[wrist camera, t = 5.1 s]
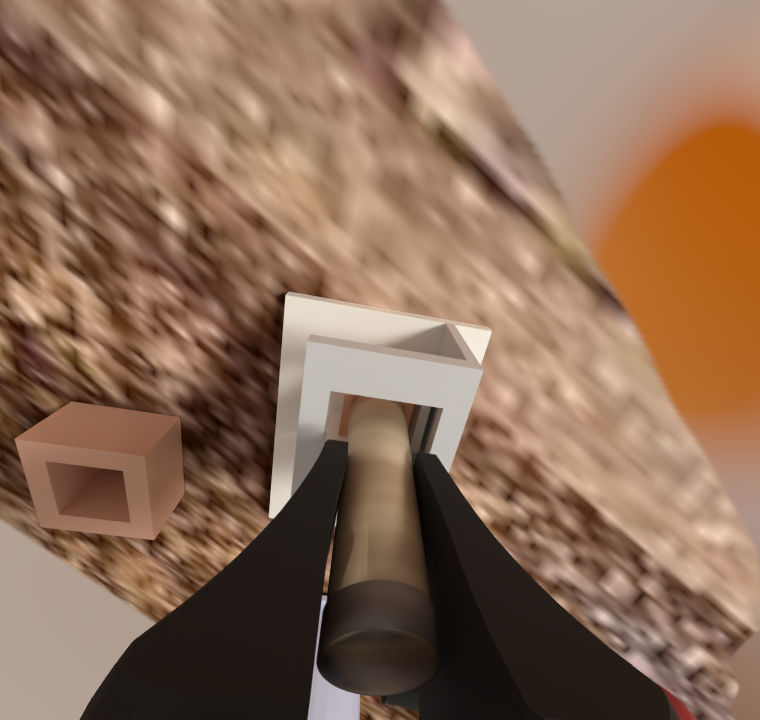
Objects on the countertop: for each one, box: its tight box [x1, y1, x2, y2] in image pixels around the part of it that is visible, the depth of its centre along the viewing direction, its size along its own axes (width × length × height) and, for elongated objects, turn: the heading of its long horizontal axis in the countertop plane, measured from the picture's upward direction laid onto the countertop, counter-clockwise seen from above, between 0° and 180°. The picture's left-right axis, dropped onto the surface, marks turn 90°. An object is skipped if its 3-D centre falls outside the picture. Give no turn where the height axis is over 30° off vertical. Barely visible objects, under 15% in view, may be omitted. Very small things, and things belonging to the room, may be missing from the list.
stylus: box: [316, 395, 442, 696], centre depth 10 cm, size 2×2×8 cm
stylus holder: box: [15, 401, 185, 540], centre depth 17 cm, size 5×5×3 cm
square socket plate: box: [269, 292, 492, 526], centre depth 16 cm, size 13×9×5 cm
